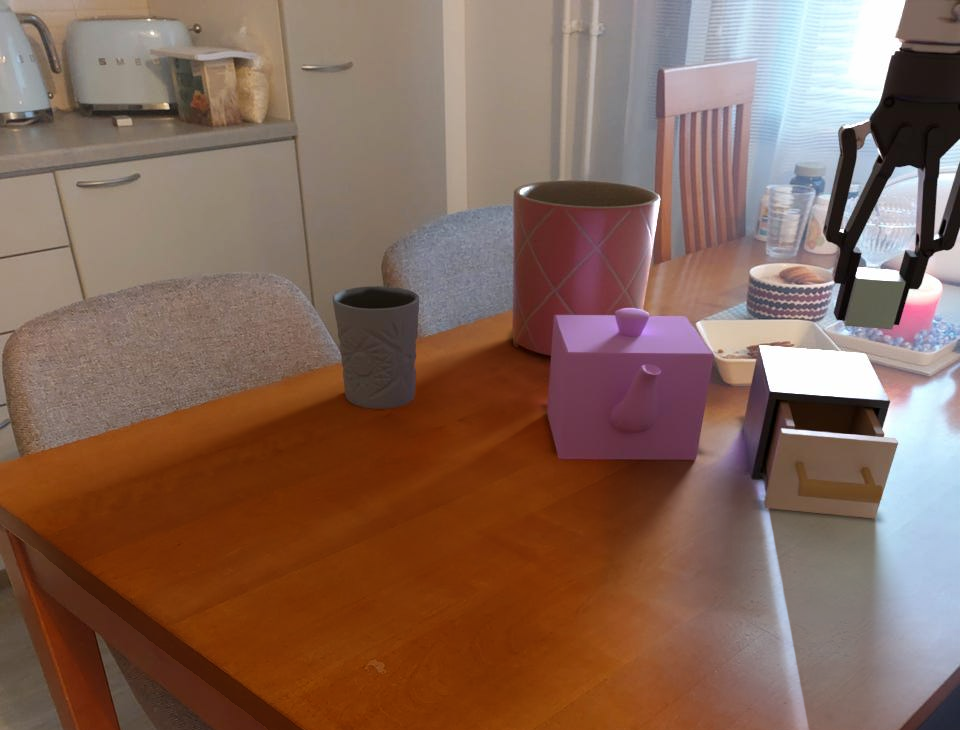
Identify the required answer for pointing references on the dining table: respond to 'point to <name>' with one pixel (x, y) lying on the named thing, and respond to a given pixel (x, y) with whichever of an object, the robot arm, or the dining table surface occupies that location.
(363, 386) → the gray embossed cup
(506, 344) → the dining table surface
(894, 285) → the block
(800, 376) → the cabinet
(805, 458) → the drawer
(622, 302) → the planter
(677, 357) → the teapot
